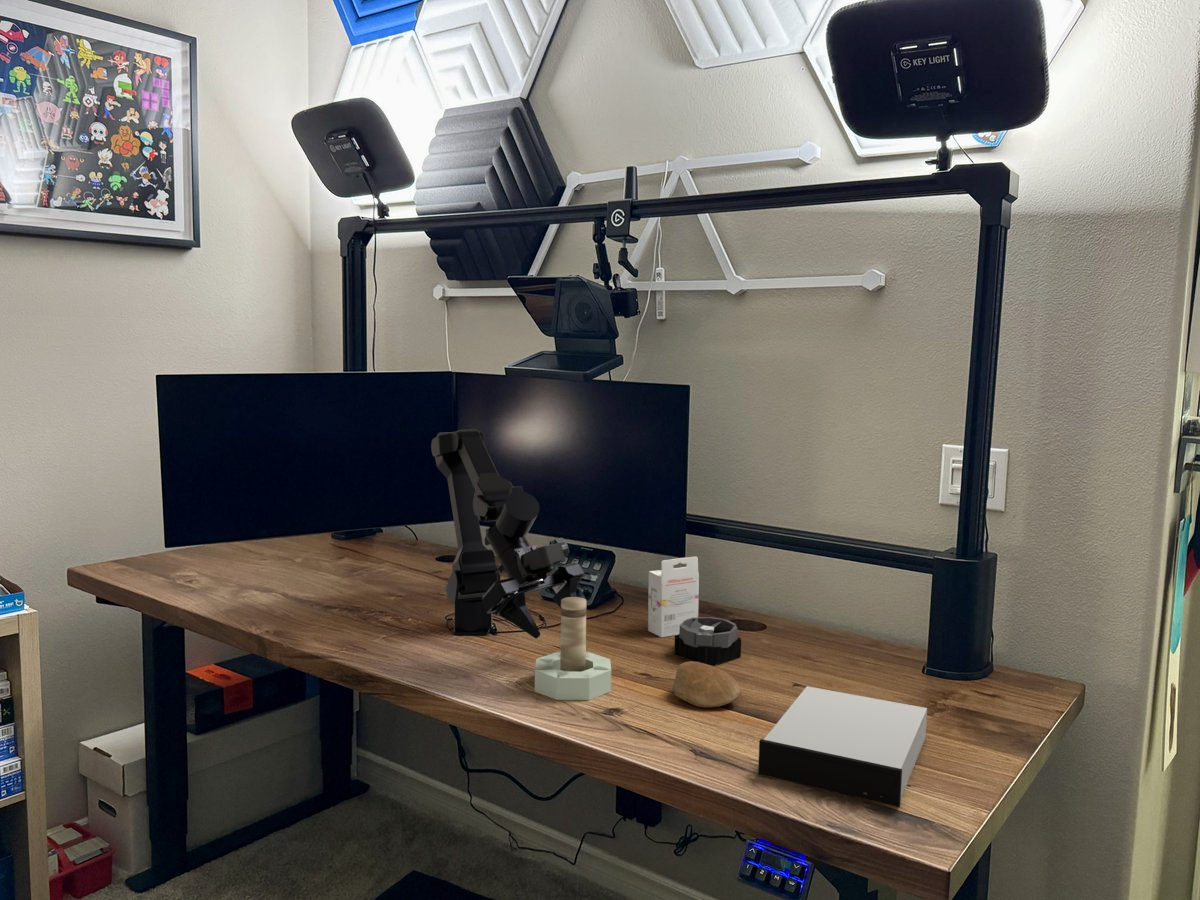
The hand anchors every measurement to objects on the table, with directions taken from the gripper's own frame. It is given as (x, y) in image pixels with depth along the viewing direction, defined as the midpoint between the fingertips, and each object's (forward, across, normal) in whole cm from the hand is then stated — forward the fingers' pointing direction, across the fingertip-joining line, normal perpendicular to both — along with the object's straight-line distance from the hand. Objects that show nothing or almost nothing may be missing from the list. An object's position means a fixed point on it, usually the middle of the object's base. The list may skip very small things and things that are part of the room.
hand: (559, 630), depth 151 cm
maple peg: (+8, 0, +3) cm, 9 cm away
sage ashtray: (+8, 0, +3) cm, 9 cm away
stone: (+22, +10, -10) cm, 26 cm away
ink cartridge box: (+4, +33, +8) cm, 34 cm away
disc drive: (+39, +8, -27) cm, 49 cm away
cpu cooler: (+13, +27, -1) cm, 30 cm away
